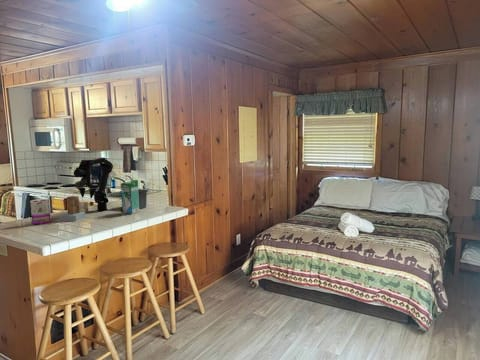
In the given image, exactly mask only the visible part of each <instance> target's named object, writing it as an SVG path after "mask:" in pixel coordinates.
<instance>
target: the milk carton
mask: <svg viewBox="0 0 480 360" xmlns="http://www.w3.org/2000/svg"><path fill="white" fill-rule="evenodd" d="M138 189H139V180H138V179H127V180H124V181H123V182H121V183H120V191H121V192H120V196H121V207H122V208H121V211H122V214H126V215H135V214H137V213H140V209H139V191H138Z"/></svg>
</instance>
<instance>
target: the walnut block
mask: <svg viewBox="0 0 480 360" xmlns="http://www.w3.org/2000/svg"><path fill="white" fill-rule="evenodd" d="M79 202H80V197H79V196H78V195H70V196H66V207H67V208H66V209H67V213H68V214H77V213H80V209H79Z"/></svg>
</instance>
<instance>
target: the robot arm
mask: <svg viewBox="0 0 480 360" xmlns="http://www.w3.org/2000/svg"><path fill="white" fill-rule="evenodd" d="M98 164H99V167H101V172H102V173H101V178H100V182H99V185H98V184H96V183H92V182H91V181H92V179H93V177H92V172H91V171H93V168H92V167H93V166H94V165H98ZM113 169H114V165H113V164H112V162H111V161H110V160H108V159H107V158H106V157H98V158H93V159H81V160H80V163H79V164H78V167H75V170H73V175H74V177H75V178H80V180H78V181H76V182H75V183H74V185H75V186H74V187H75V189H77V190H78V191H79V193H80V196H81V198H84V197H85V193H86V188H88V191H89V198H91V199H92V198H93V199H94V200H93V201H94V202H95V204H97V205H96V208H97V209H96V212H105V211H108V210H109V208H108V205H107V204H108V203H109V198H108V197H107V192H106V188H107V183H108V180H109V175H110V174H111V172H112V171H113Z"/></svg>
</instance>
